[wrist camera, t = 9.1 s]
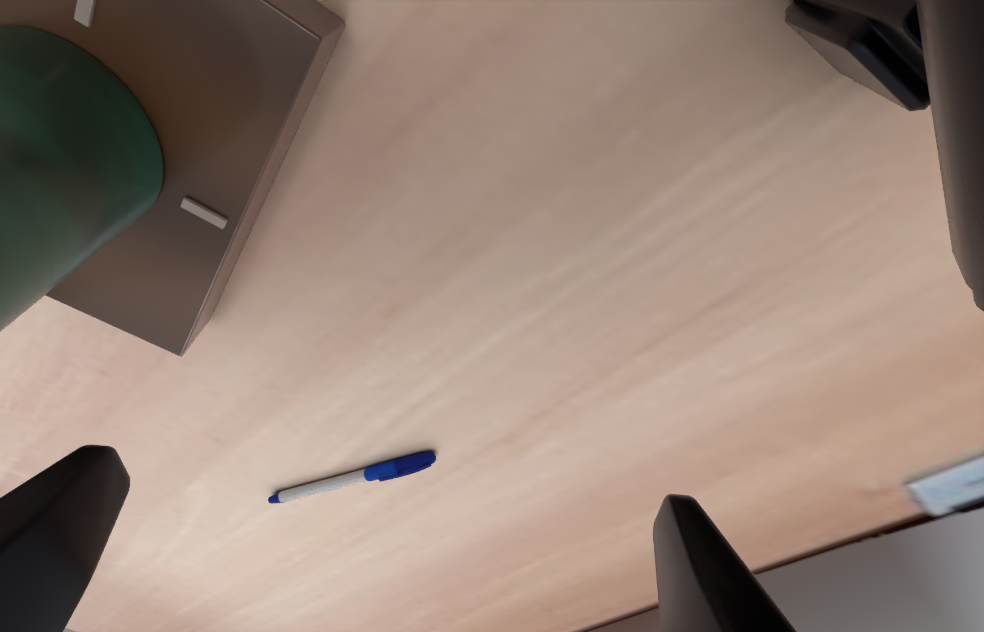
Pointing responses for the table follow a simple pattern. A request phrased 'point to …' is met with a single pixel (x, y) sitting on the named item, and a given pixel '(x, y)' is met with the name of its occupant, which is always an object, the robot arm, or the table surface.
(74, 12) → the dial knob base plate
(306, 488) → the ballpoint pen
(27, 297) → the rotary knob
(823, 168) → the table surface
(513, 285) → the table surface
